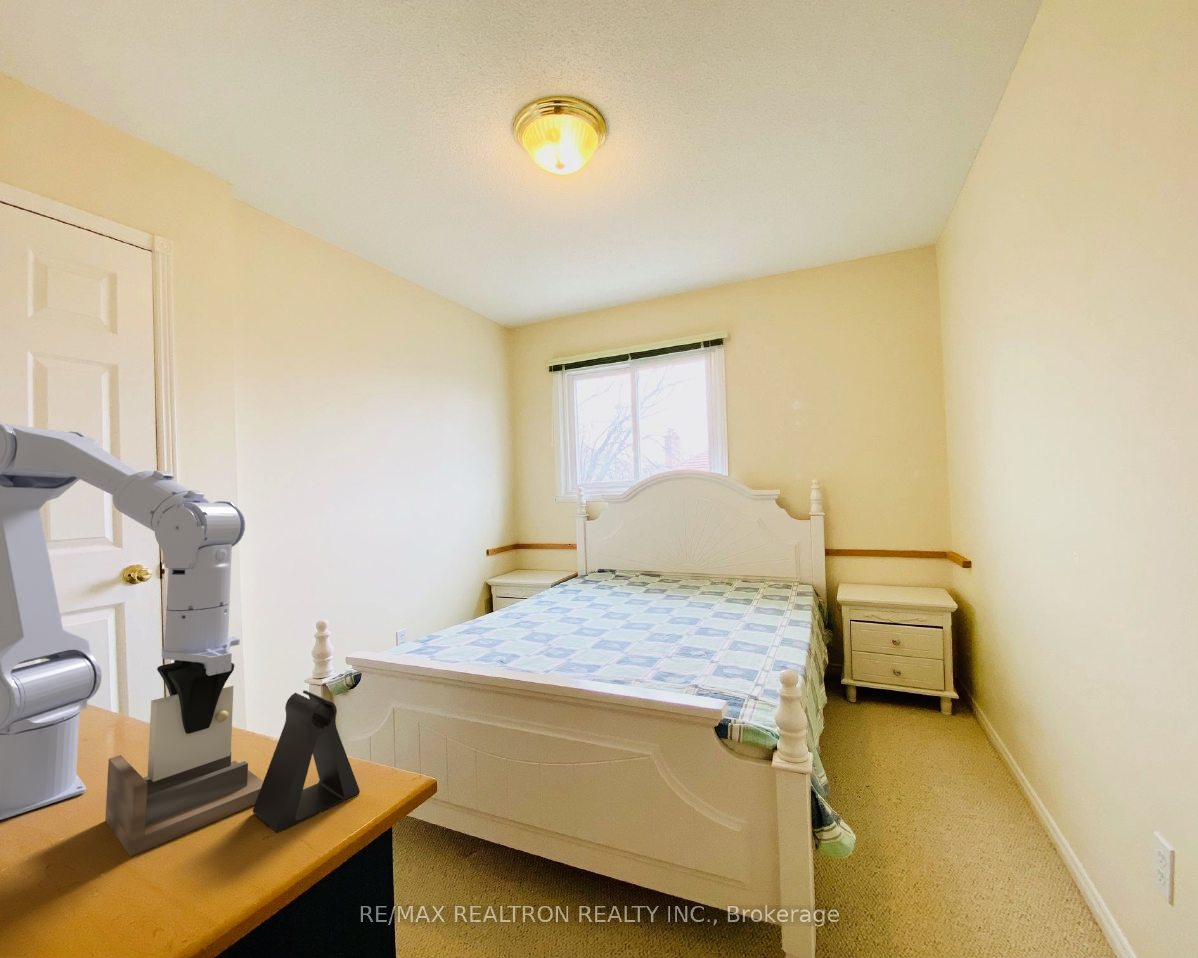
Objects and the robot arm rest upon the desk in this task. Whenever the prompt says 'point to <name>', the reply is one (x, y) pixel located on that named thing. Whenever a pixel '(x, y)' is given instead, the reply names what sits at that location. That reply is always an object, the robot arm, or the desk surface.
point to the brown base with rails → (174, 800)
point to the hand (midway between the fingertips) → (193, 727)
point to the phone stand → (305, 766)
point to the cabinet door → (187, 737)
